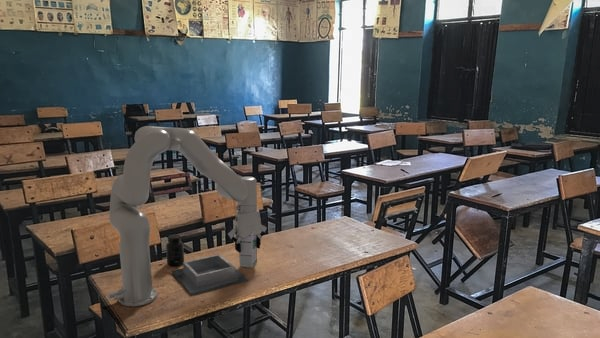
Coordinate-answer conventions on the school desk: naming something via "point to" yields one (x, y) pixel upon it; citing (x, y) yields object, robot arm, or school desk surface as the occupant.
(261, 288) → the school desk surface
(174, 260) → the supplement bottle
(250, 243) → the syrup box
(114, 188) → the robot arm
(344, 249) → the school desk surface
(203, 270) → the socket
